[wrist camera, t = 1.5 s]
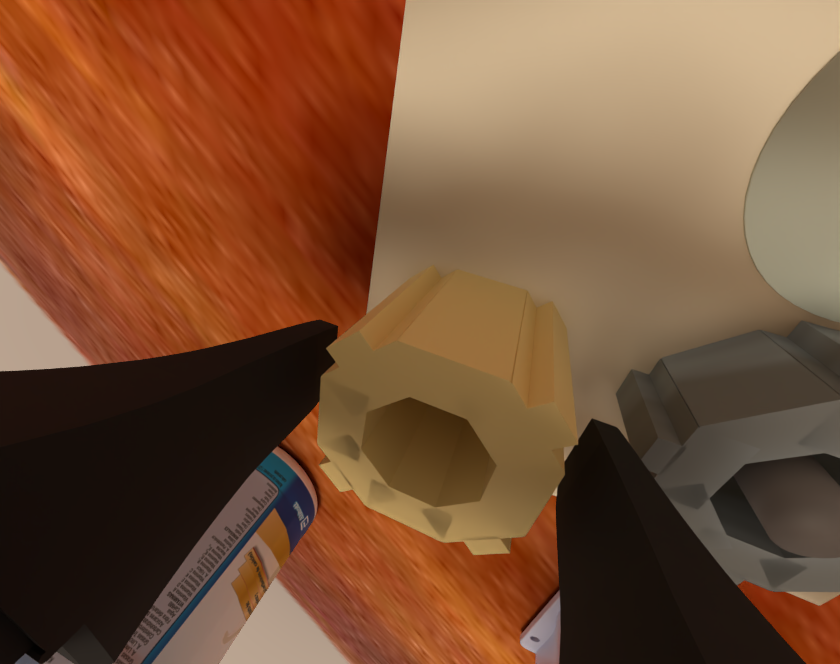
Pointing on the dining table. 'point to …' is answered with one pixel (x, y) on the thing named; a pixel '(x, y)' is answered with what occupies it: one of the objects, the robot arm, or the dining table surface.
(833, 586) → the gear board
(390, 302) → the ochre gear
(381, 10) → the dining table surface
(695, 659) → the robot arm
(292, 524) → the blue pill bottle
